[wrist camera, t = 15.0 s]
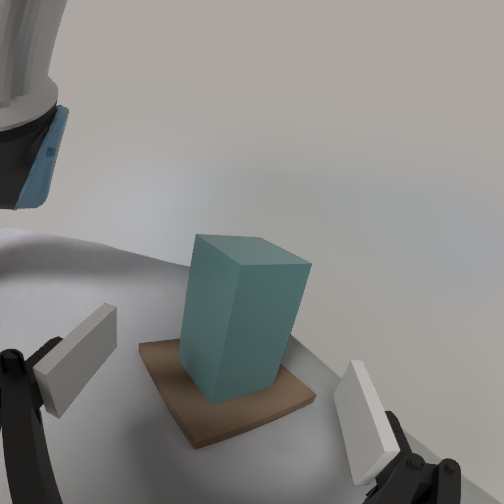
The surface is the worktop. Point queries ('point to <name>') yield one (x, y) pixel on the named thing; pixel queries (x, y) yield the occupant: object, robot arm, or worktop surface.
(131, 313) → the worktop surface
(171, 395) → the brown square base plate
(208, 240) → the tall teal pillar
